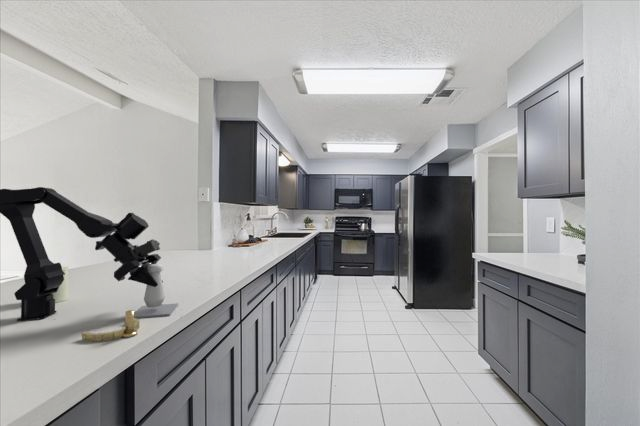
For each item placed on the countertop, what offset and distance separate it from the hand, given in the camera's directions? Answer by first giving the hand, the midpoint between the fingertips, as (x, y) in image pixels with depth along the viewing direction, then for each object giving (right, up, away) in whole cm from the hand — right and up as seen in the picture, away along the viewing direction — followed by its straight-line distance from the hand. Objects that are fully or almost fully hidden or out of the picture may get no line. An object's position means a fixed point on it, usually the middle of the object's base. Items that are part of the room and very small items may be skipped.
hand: (159, 284), depth 91 cm
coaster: (-1, -8, 0) cm, 9 cm away
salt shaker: (-1, -7, 0) cm, 7 cm away
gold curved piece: (0, -8, -17) cm, 19 cm away
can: (-46, -9, +12) cm, 48 cm away
